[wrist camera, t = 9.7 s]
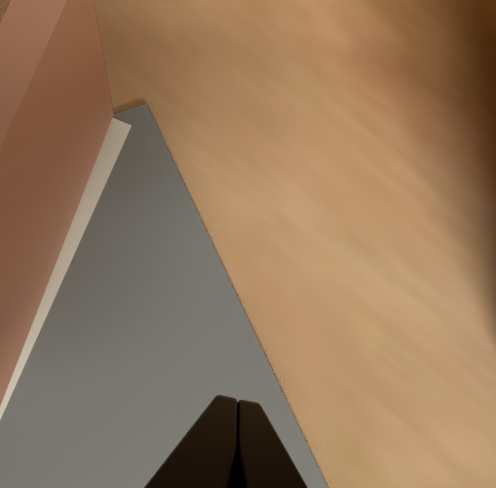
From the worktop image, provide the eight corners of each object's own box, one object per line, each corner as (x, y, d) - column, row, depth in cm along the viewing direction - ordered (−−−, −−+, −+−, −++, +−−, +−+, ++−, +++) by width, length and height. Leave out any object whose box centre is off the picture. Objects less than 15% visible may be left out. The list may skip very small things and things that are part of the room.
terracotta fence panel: (-23, 464, 17) (-209, 613, 8) (-56, 457, 17) (-282, 602, 8) (114, 113, 20) (86, -43, 12) (88, 104, 20) (40, -62, 11)
